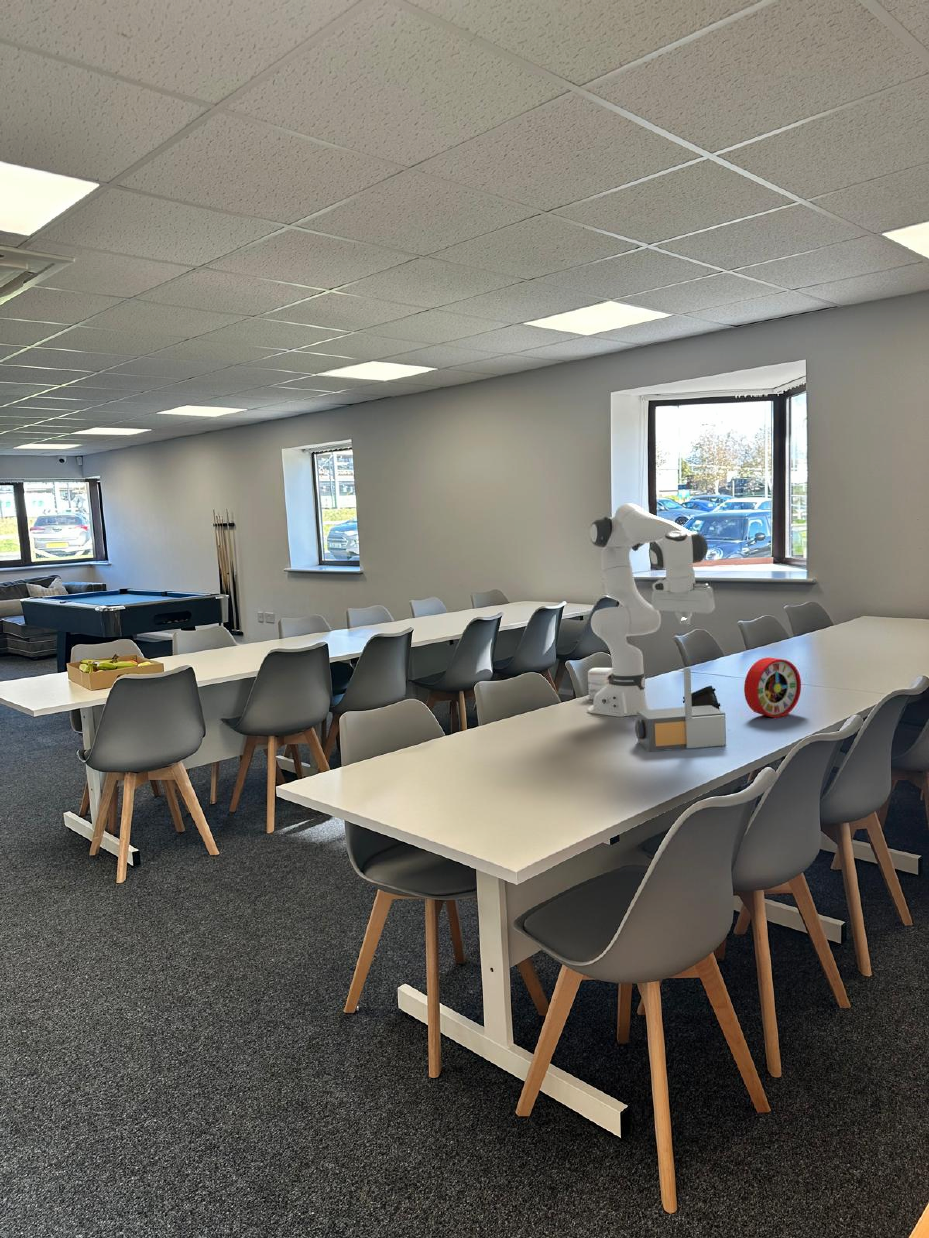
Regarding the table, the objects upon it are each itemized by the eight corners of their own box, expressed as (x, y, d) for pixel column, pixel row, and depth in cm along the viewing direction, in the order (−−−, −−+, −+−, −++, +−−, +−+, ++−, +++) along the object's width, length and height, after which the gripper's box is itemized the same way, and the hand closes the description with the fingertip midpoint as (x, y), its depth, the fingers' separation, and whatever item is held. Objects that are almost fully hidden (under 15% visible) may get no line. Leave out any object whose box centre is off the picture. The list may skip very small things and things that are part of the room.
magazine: (724, 730, 270) (706, 686, 274) (694, 742, 280) (677, 699, 284) (731, 728, 273) (713, 684, 276) (701, 739, 283) (684, 697, 286)
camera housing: (644, 752, 257) (643, 719, 256) (633, 742, 269) (631, 711, 268) (726, 745, 259) (725, 713, 258) (711, 735, 271) (710, 705, 270)
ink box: (615, 695, 342) (613, 667, 341) (609, 700, 334) (608, 671, 333) (594, 695, 346) (593, 667, 344) (588, 699, 338) (587, 670, 337)
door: (688, 748, 256) (685, 668, 254) (686, 747, 258) (683, 667, 256) (726, 745, 257) (724, 665, 255) (724, 744, 259) (722, 664, 257)
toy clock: (757, 721, 286) (755, 663, 284) (744, 718, 292) (743, 661, 289) (801, 713, 294) (800, 656, 292) (788, 710, 300) (787, 654, 297)
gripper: (716, 581, 264) (720, 622, 268) (656, 579, 277) (660, 618, 281) (707, 587, 259) (711, 629, 263) (647, 584, 272) (652, 625, 276)
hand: (685, 624), depth 272 cm, fingers closed
